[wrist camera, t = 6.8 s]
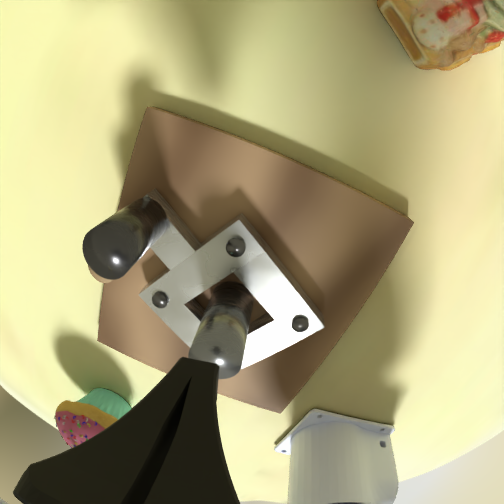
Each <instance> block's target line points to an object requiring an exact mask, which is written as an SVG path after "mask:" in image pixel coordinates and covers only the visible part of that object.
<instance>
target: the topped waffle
mask: <svg viewBox="0 0 504 504" xmlns="http://www.w3.org/2000/svg"><path fill="white" fill-rule="evenodd" d="M377 5H378V7H379V9H380V11H381V13H382V15H383V16H384V18H385V19H386V21H387V22H388V24H389V25H390V27H391V28H392V30H393V31H394V33H395V34H396V36H397V37H398V39H399V40H400V42H401V44H402V45H403V47H404V49H405V51H406V52H407V54H408V56H409V57H410V59H411V60H412V62H413V63H414V65H415V66H416V67H418V68H420V69H425V70H428V69H436V68H437V69H440V70H451V69H454V68H456V67H458V66H460V65H461V64H463V63H465V62H468V61H469V60H470V58H471V56H472V55H475V54H478V53H484V52H487V51H490V50H493V49H495V48H496V47H498V46H500V43H501V41H502V40H504V0H377Z"/></svg>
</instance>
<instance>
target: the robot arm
mask: <svg viewBox="0 0 504 504" xmlns="http://www.w3.org/2000/svg"><path fill="white" fill-rule="evenodd" d="M218 379H219V366H218V365H217V364H216V363H210V362H205V361H201V360H196V359H191V358H186V357H181V358H180V359H179V360H178V361H177V362H176V364H175V365H174V366H173V367H172V369H171V370H170V371H169V372H168V373H167V374H166V376H165V377H164V378H163V379H162V380H161V381H160V382H159V383H158V384H157V385H156V386H155V387H154V388H153V389H152V390H151V391H150V392H149V393H148V394H147V395H146V396H145V397H144V398H143V399H142V400H141V401H140V402H139V403H138V404H136V405H135V406H134V407H133V408H132V409H131V410H130V411H128V412H127V413H126V414H125V415H124V416H122V417H121V418H120V419H118V420H117V421H116V422H114V423H113V424H112V425H110V426H109V427H107V428H106V429H104V430H103V431H101V432H100V433H98V434H97V435H95V436H93V437H92V438H90V439H88V440H87V441H85V442H83V443H81V444H79V445H77V446H75V447H73V448H71V449H69V450H67V451H65V452H63V453H61V454H58V455H56V456H53V457H50V458H48V459H45V460H42V461H39V462H36V463H33V464H31V465H30V466H29V467H28V468H27V470H26V471H25V472H24V473H23V475H22V477H21V478H20V480H19V482H18V484H17V486H16V488H15V489H14V491H13V494H14V496H15V497H16V498H17V499H18V500H19V501H21V502H22V503H23V504H240V502H239V500H238V497H237V494H236V491H235V489H234V486H233V483H232V480H231V477H230V474H229V471H228V467H227V464H226V460H225V456H224V452H223V448H222V443H221V438H220V432H219V426H218V418H217V406H216V400H217V391H218ZM394 430H395V428H394V426H392V425H386V424H381V423H376V422H371V421H366V420H361V419H357V418H352V417H348V416H343V415H339V414H335V413H331V412H327V411H323V410H319V409H312V410H311V411H309V412H308V413H307V415H306V416H305V417H304V418H303V419H302V420H301V421H300V422H299V423H298V424H297V425H296V426H295V427H294V428H293V429H292V430H291V431H290V432H289V433H288V434H287V435H286V436H285V437H284V438H283V439H282V440H281V441H280V442H279V443H278V444H277V445H276V446H275V448H274V450H275V451H276V452H280V453H284V454H288V455H290V469H289V488H288V504H393V502H394V500H395V498H396V495H397V491H398V476H397V470H396V465H395V459H394V454H393V449H392V444H391V439H390V434H391V433H392V432H394ZM0 504H8V503H7V502H5V501H4V500H3V499H1V498H0Z"/></svg>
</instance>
